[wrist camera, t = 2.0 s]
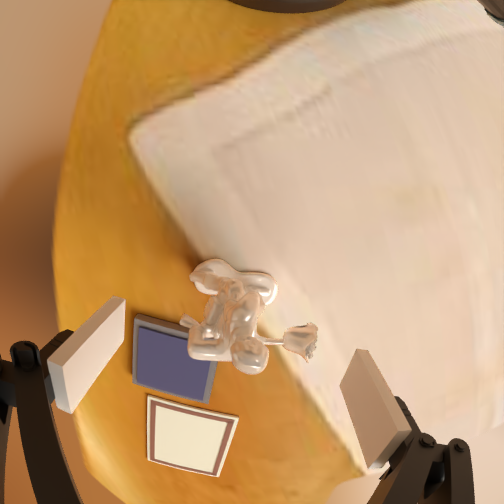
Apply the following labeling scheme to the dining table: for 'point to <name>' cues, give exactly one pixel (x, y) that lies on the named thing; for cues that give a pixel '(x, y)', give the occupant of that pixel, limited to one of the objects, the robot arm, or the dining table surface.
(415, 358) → the dining table surface
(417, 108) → the dining table surface
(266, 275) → the figurine
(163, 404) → the print sheet
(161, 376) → the ink pad
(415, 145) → the dining table surface
